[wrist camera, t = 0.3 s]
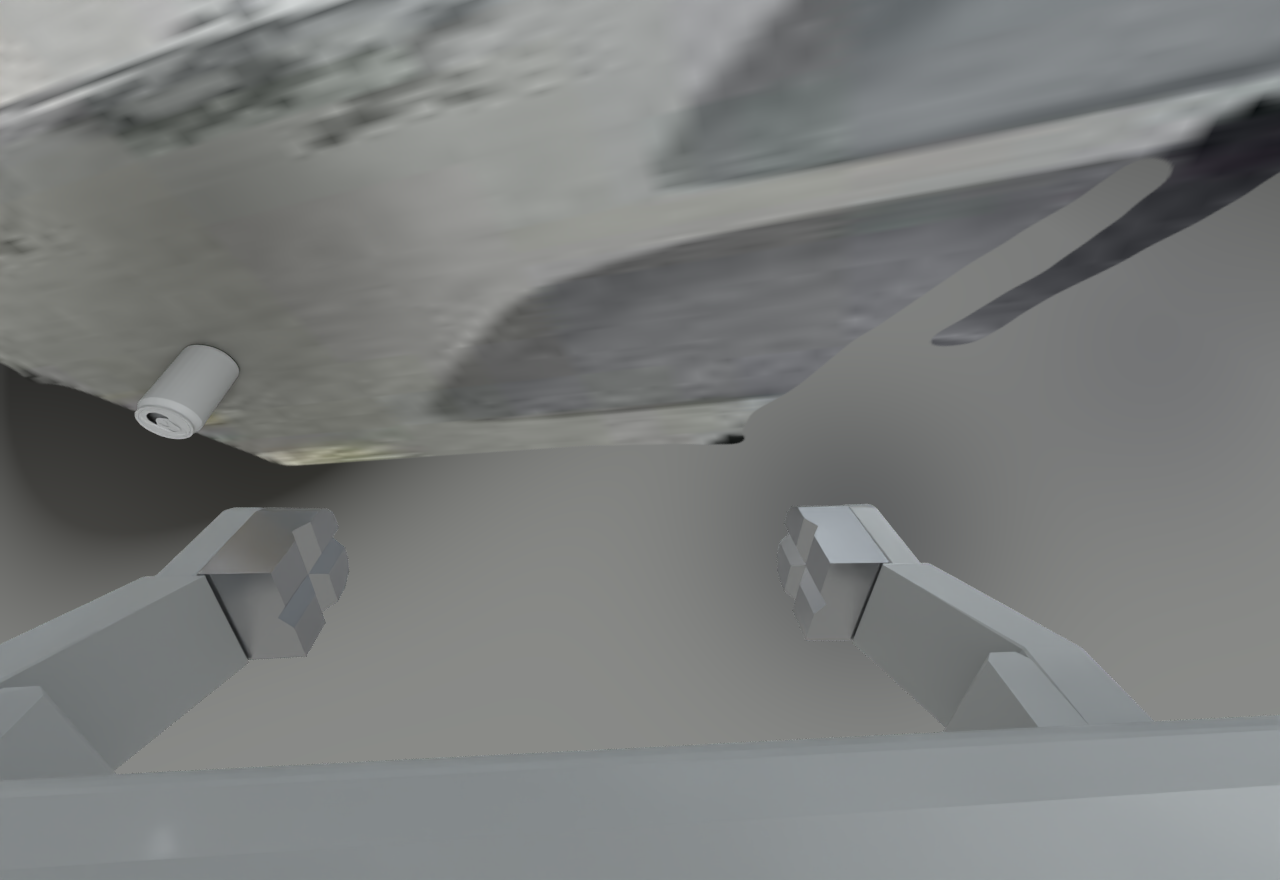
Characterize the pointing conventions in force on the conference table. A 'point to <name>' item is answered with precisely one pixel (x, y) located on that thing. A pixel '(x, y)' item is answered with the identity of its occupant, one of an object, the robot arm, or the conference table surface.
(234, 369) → the beverage can
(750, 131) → the conference table surface
